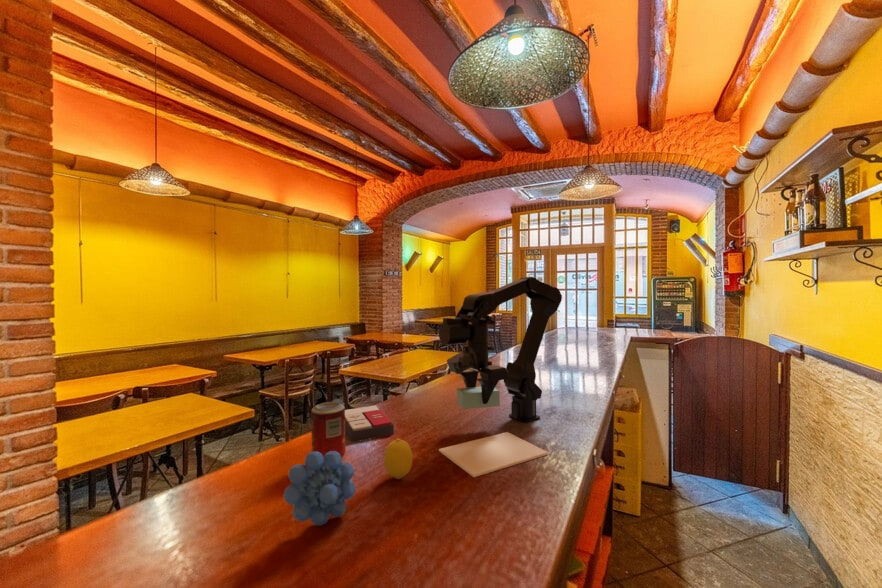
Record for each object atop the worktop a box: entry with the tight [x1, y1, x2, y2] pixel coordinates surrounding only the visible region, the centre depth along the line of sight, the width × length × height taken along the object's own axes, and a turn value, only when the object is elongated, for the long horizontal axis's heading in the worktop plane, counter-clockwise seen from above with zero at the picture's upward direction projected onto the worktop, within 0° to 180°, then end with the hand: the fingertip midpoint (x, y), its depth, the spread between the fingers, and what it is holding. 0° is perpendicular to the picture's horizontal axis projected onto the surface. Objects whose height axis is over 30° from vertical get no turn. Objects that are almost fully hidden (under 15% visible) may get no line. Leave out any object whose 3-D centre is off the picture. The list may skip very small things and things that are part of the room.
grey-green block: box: [456, 385, 501, 410], centre depth 101 cm, size 10×6×4 cm, turn 106°
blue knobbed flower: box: [283, 451, 357, 527], centre depth 60 cm, size 12×7×12 cm, turn 130°
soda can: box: [310, 401, 346, 459], centre depth 83 cm, size 7×7×12 cm
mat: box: [438, 431, 549, 478], centre depth 86 cm, size 20×14×1 cm
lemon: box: [383, 437, 414, 480], centre depth 74 cm, size 6×6×8 cm
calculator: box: [345, 405, 395, 443], centre depth 102 cm, size 11×4×15 cm
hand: (477, 400), depth 101 cm, fingers closed on grey-green block, 6 cm apart
